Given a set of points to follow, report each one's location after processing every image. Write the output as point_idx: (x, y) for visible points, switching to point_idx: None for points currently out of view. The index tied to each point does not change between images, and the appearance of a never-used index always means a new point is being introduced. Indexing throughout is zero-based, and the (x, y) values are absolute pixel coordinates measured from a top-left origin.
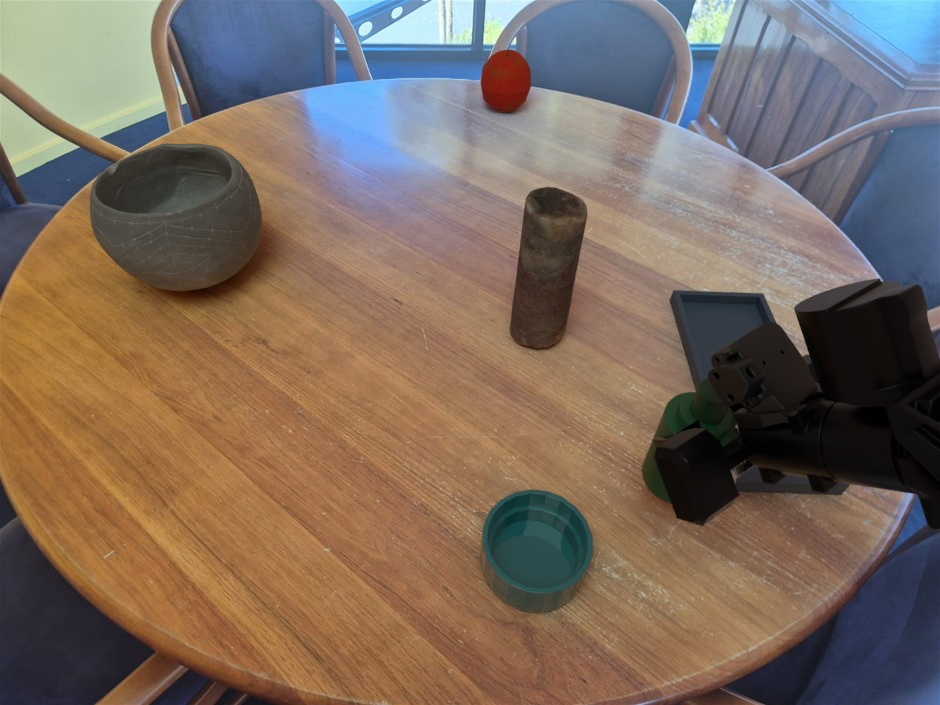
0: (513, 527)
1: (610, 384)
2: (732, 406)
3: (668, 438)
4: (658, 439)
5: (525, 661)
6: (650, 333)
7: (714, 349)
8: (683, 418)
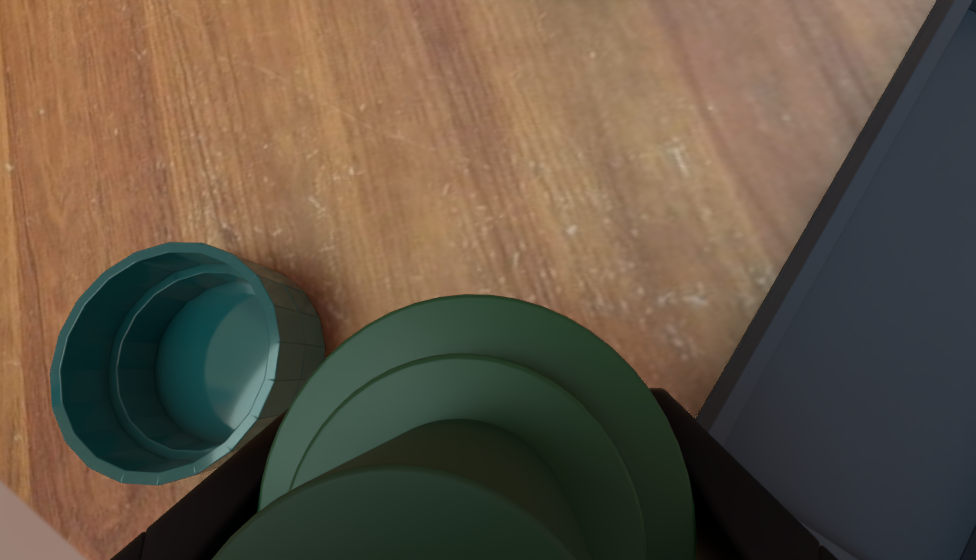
0: (244, 289)
1: (635, 123)
2: (717, 546)
3: (205, 496)
4: (270, 425)
5: (111, 497)
6: (821, 53)
7: (942, 156)
8: (291, 485)
